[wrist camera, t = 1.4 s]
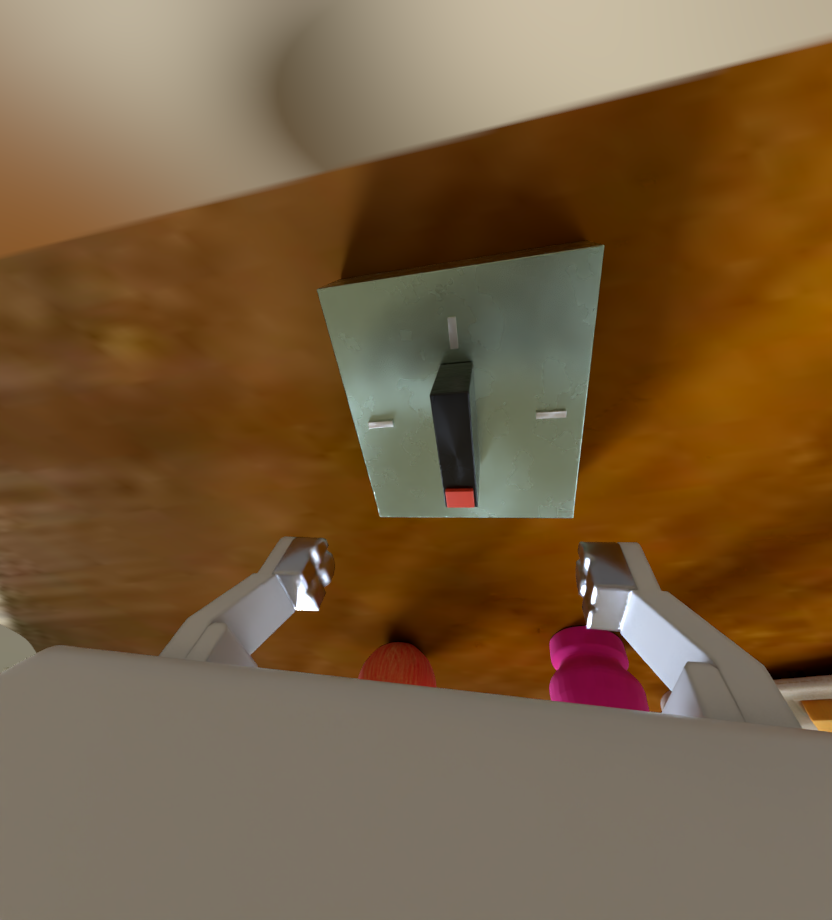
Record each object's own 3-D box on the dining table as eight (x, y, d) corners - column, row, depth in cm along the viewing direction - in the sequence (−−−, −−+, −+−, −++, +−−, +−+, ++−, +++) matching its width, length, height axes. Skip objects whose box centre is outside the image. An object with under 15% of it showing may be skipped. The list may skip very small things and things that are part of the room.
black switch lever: (439, 364, 17) (428, 397, 14) (472, 361, 17) (468, 394, 14) (451, 466, 20) (444, 510, 17) (480, 465, 20) (477, 511, 17)
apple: (414, 623, 36) (397, 714, 29) (453, 664, 39) (445, 755, 32) (354, 635, 39) (326, 719, 33) (394, 672, 42) (377, 755, 36)
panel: (339, 279, 19) (314, 289, 16) (587, 239, 16) (606, 244, 13) (390, 489, 26) (379, 519, 24) (564, 487, 23) (573, 520, 21)
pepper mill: (594, 673, 35) (682, 1068, 19) (528, 647, 35) (561, 1031, 18) (648, 641, 31) (821, 1114, 15) (574, 611, 30) (668, 1067, 14)
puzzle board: (650, 689, 35) (664, 731, 32) (922, 642, 26) (976, 695, 23) (724, 760, 40) (742, 801, 38) (972, 742, 31) (1020, 795, 28)
